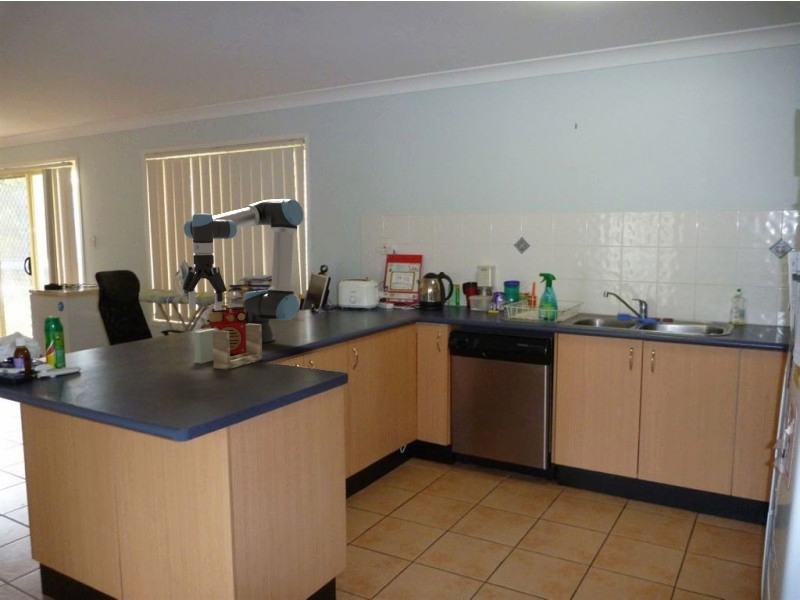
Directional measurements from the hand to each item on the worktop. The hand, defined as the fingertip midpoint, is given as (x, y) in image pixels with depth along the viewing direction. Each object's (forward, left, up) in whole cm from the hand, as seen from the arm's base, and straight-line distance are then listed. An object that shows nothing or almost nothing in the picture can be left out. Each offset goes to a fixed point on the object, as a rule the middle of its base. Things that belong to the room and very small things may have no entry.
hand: (205, 309), depth 243 cm
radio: (-15, -2, -21) cm, 26 cm away
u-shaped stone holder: (-1, +15, -20) cm, 25 cm away
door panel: (0, 0, -20) cm, 20 cm away
